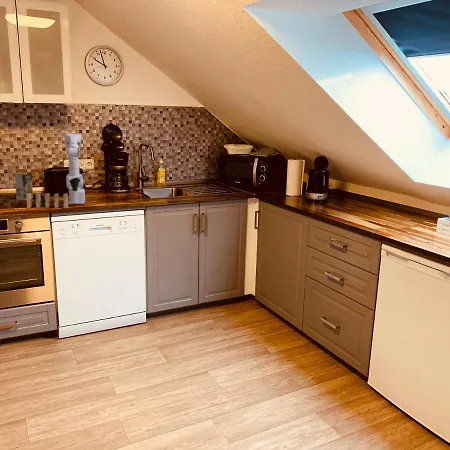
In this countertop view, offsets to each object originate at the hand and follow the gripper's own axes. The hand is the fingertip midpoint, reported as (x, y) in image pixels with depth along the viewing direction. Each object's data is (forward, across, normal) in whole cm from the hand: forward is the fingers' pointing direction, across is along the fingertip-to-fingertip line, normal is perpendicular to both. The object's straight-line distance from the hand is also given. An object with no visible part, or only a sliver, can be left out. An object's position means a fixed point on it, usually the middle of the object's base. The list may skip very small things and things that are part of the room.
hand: (74, 190), depth 284 cm
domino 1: (+10, +8, -20) cm, 23 cm away
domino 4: (+10, +2, -5) cm, 11 cm away
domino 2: (+10, +6, -15) cm, 19 cm away
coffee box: (+10, -11, -42) cm, 45 cm away
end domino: (+10, +10, -24) cm, 28 cm away
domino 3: (+10, +4, -10) cm, 15 cm away
